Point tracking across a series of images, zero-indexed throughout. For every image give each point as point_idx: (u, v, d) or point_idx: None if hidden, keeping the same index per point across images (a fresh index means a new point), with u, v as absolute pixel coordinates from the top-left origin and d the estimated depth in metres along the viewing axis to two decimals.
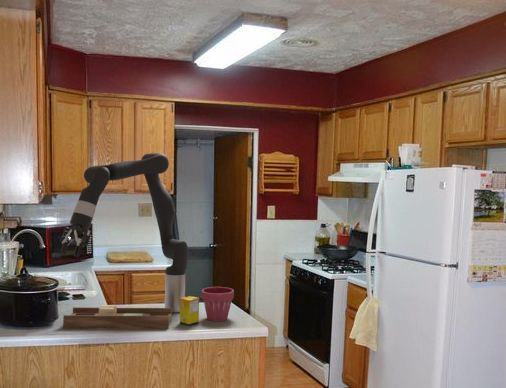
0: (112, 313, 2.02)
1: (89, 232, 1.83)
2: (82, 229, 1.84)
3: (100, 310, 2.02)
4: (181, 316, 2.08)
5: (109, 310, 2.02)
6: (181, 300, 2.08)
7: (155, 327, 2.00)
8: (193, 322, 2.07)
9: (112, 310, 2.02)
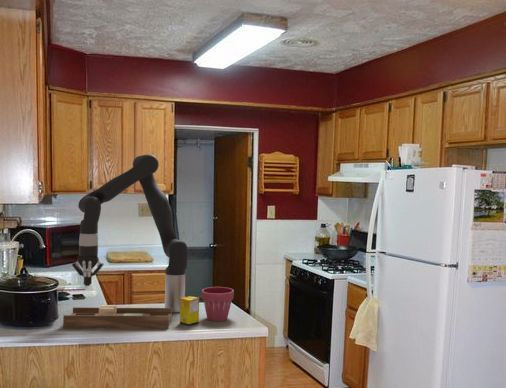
0: (112, 313, 2.02)
1: None
2: (97, 260, 2.04)
3: (100, 310, 2.02)
4: (181, 316, 2.08)
5: (109, 310, 2.02)
6: (181, 300, 2.08)
7: (155, 327, 2.00)
8: (193, 322, 2.07)
9: (112, 310, 2.02)
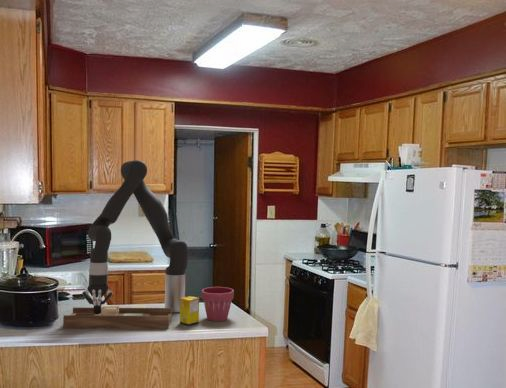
0: (114, 313, 2.02)
1: None
2: (107, 289, 2.04)
3: (102, 310, 2.02)
4: (181, 316, 2.08)
5: (111, 310, 2.02)
6: (181, 300, 2.08)
7: (155, 327, 2.00)
8: (193, 322, 2.07)
9: (114, 310, 2.02)
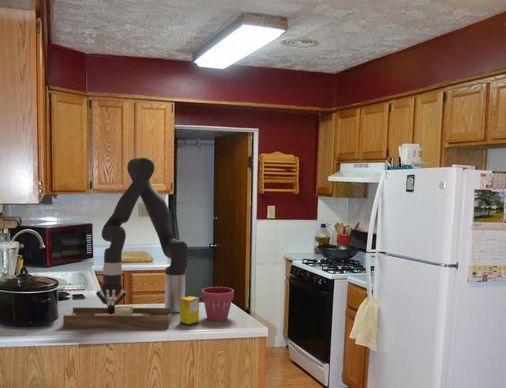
0: (128, 313, 2.02)
1: None
2: (121, 289, 2.05)
3: (116, 310, 2.02)
4: (181, 316, 2.08)
5: (125, 310, 2.02)
6: (181, 300, 2.08)
7: (155, 327, 2.00)
8: (193, 322, 2.07)
9: (128, 310, 2.02)
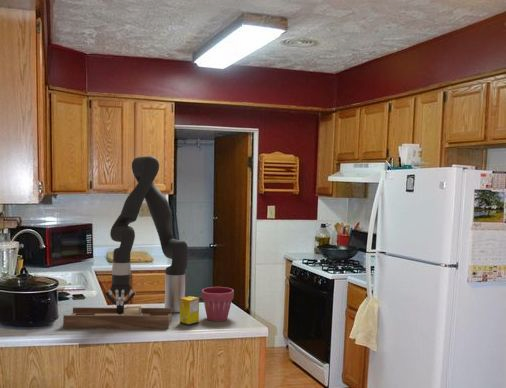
0: (137, 314, 2.02)
1: None
2: (130, 289, 2.05)
3: (125, 311, 2.02)
4: (181, 316, 2.08)
5: (134, 311, 2.02)
6: (181, 300, 2.08)
7: (155, 327, 2.00)
8: (193, 322, 2.07)
9: (137, 311, 2.02)
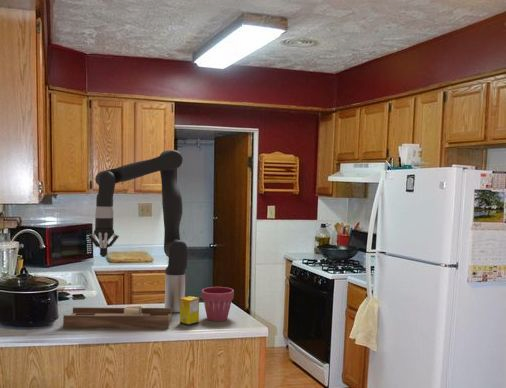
0: (137, 314, 2.02)
1: (117, 237, 2.13)
2: (113, 232, 2.12)
3: (125, 311, 2.02)
4: (181, 316, 2.08)
5: (134, 311, 2.02)
6: (181, 300, 2.08)
7: (155, 327, 2.00)
8: (193, 322, 2.07)
9: (137, 311, 2.02)
